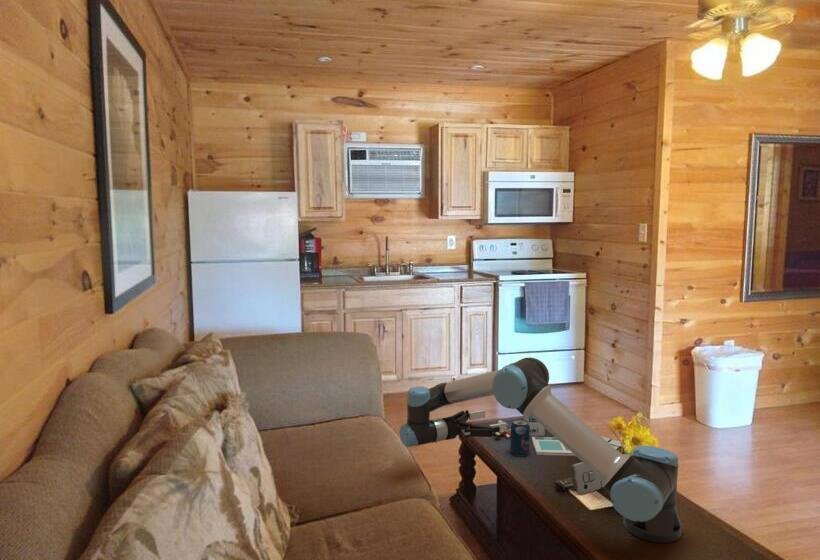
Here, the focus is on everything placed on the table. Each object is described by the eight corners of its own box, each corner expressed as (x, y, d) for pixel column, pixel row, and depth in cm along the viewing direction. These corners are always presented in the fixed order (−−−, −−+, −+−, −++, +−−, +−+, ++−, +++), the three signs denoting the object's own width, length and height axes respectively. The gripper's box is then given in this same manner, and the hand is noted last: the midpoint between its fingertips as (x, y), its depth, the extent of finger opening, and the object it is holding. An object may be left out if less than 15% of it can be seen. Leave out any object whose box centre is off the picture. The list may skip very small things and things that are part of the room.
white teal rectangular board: (591, 456, 208) (591, 453, 207) (536, 454, 209) (536, 451, 209) (583, 441, 221) (583, 438, 221) (531, 439, 223) (531, 436, 223)
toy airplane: (486, 433, 230) (486, 418, 230) (506, 430, 233) (507, 415, 232) (495, 441, 222) (495, 426, 221) (516, 439, 224) (516, 423, 223)
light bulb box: (545, 436, 227) (545, 410, 225) (528, 436, 227) (528, 410, 225) (539, 426, 237) (540, 401, 236) (523, 426, 237) (523, 401, 236)
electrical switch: (579, 495, 179) (578, 466, 179) (568, 490, 184) (567, 461, 184) (602, 489, 183) (601, 461, 183) (590, 484, 188) (589, 456, 188)
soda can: (525, 458, 206) (526, 426, 205) (507, 454, 210) (508, 423, 208) (531, 451, 212) (532, 420, 211) (514, 447, 216) (514, 417, 214)
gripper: (426, 427, 208) (476, 418, 217) (461, 453, 185) (514, 442, 194) (427, 407, 207) (476, 399, 216) (461, 431, 184) (515, 421, 193)
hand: (495, 420), depth 205 cm, fingers open, 13 cm apart
